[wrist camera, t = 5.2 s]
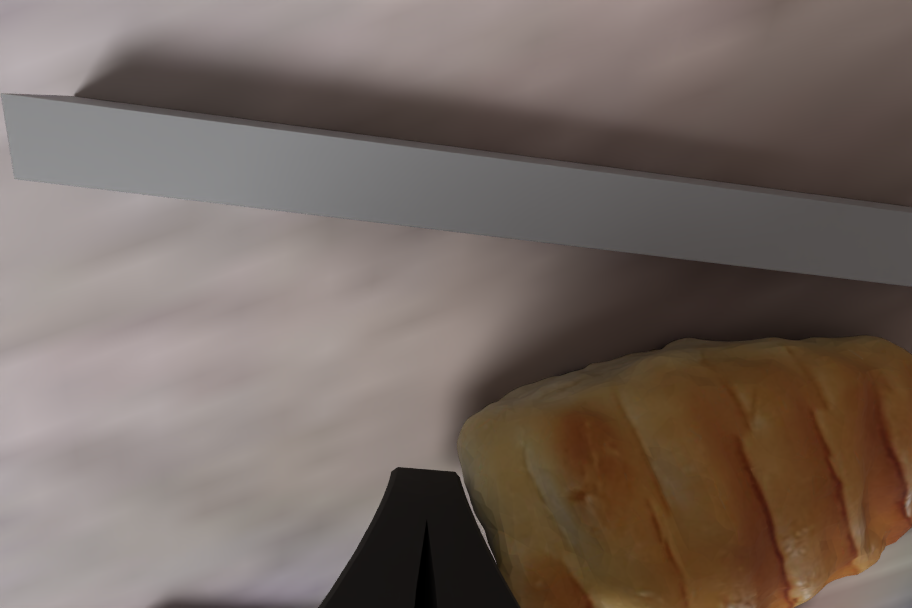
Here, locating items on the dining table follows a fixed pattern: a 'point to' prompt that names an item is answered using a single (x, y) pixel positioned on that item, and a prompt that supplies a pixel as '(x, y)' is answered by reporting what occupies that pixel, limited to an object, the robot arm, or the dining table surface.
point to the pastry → (697, 474)
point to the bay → (450, 188)
